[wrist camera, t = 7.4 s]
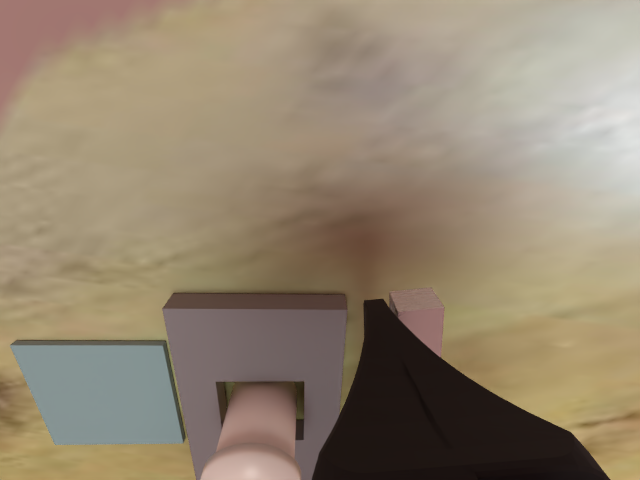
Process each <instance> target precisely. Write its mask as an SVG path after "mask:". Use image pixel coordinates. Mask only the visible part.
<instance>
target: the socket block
mask: <svg viewBox="0 0 640 480" xmlns="http://www.w3.org/2000/svg"><path fill="white" fill-rule="evenodd" d="M162 309H163V314H164V319H165V325H166V330H167V335H168V340H169V345H170V350H171V355H172V360H173V365H174V370H175V375H176V380H177V385H178V390H179V395H180V400H181V405H182V410H183V415H184V420H185V425H186V430H187V435H188V440H189V445H190V450H191V455H192V460H193V465H194V470H195V475H196V480H200V479H201V475H202V472H203V468H204V466H205V463H206V462H207V460H208V459H209V458H210V457H211V456H212V455H213V454H214V453H216V450H217V446H218V442H219V438H220V435H221V431H222V427H223V423H224V420H225V416H226V412H227V403H226V395H225V386H224V382H253V381H305V384H304V420H296V433H295V457H294V459H295V460H296V461H297V463H298V465H299V466H300V469H301V480H312V476H313V473H314V469H315V466H316V462H317V459H318V455H319V452H320V450H321V449H322V447H323V445H324V443H325V441H326V440H327V438H328V436H329V434H330V433H331V431H332V429H333V427H334V425H335V423H336V421H337V419H338V417H339V412H340V399H341V386H342V373H343V360H344V347H345V334H346V321H347V305H346V300H345V295H320V294H192V293H173V294H172V296H171V297H170V299H169V300H168V301H167V303H166V304H165V306H164V307H163V308H162Z"/></svg>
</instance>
